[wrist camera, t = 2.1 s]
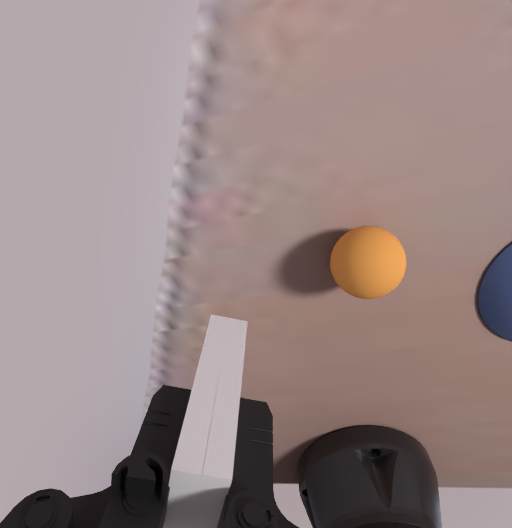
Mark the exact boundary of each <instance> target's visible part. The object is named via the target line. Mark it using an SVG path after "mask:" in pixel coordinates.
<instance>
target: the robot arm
mask: <svg viewBox="0 0 512 528" xmlns="http://www.w3.org/2000/svg"><path fill="white" fill-rule="evenodd" d="M246 331H247V321H242V320H237V319H232V318H227V317H222V316H216V315H211V318H210V321H209V325H208V329H207V333H206V337H205V341H204V345H203V349H202V352H201V356H200V360H199V364H198V368H197V372H196V376H195V379H194V383H193V387H192V390H189V389H183V388H178V387H172V386H166V385H163V386H162V387H161V388H160V389H159V390H158V391H157V392H156V393H155V394H154V395H153V397H152V400H151V403H150V405H149V408H148V411H147V413H146V416H145V418H144V421H143V424H142V426H141V429H140V432H139V435H138V437H137V440H136V442H135V445H134V447H133V450H132V453H131V455H130V456H128V457H126V458H125V459H124V460H123V461H122V462H120V463H119V464H118V465H117V466H116V468H115V470H114V471H113V473H112V482H111V486H110V487H108V488H107V489H105V490H103V491H101V492H97V493H94V494H90V495H84V496H79V497H74V498H69V496H67V495H66V494H65V493H64V492H62V491H61V490H56V489H45V490H40V491H37V492H35V493H33V494H31V495H29V496H27V497H25V498H24V499H23V500H22V501H21V502H20V503H18V504H17V505H16V506H15V507H14V508H13V509H12V511H11V512H10V513H9V514H8V515H7V516H6V517H5V519H4V520H3V521H2V522H1V523H0V528H299V527H297V526H295V525H294V524H292V523H291V522H290V521H288V520H287V519H286V518H285V517H284V516H283V515H282V513H281V512H280V510H279V509H278V507H277V505H276V502H275V499H274V493H273V445H272V443H273V433H272V431H273V416H272V414H271V411H270V409H269V407H268V405H267V402H261V401H256V400H250V399H245V398H240V394H241V383H242V373H243V362H244V352H245V341H246ZM298 480H299V491H300V496H301V499H302V502H303V504H304V506H305V509H306V512H307V514H308V517H309V519H310V522H311V524H312V527H313V528H442V523H441V513H440V502H439V492H438V481H437V476H436V472H435V469H434V467H433V465H432V462H431V460H430V458H429V455H428V453H427V451H426V450H425V448H424V447H423V446H422V444H421V443H420V442H418V441H417V440H416V439H415V438H413V437H412V436H410V435H408V434H406V433H404V432H401V431H399V430H395V429H392V428H387V427H380V426H358V427H351V428H346V429H342V430H339V431H336V432H333V433H331V434H328V435H326V436H324V437H322V438H321V439H319V440H318V441H316V442H315V443H314V444H312V445H311V446H310V447H309V448H308V449H307V450H306V451H305V453H304V454H303V456H302V458H301V460H300V462H299V466H298Z"/></svg>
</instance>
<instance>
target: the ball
mask: <svg viewBox="0 0 512 528" xmlns="http://www.w3.org/2000/svg"><path fill="white" fill-rule="evenodd" d="M330 267H331V272H332V275H333V277H334V279H335V281H336V283H337V284H338V285H339V286H340V287H341V288H342V289H343V290H344V291H345V292H347V293H348V294H350V295H352V296H354V297H358V298H363V299H374V298H379V297H382V296H384V295H386V294H388V293H390V292H391V291H392V290H394V289H395V288H396V287H397V286H398V285H399V283H400V282H401V280H402V278H403V276H404V273H405V270H406V255H405V251H404V249H403V247H402V245H401V243H400V242H399V240H398V239H397V238H396V237H395V236H394V235H392V234H391V233H390V232H388V231H386V230H384V229H382V228H378V227H373V226H363V227H358V228H355V229H352V230H350V231H348V232H347V233H345V234H344V235H343V236H342V237H341V238H340V239H339V240H338V241H337V242H336V244H335V246H334V248H333V250H332V253H331V258H330Z"/></svg>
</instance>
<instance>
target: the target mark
mask: <svg viewBox="0 0 512 528" xmlns="http://www.w3.org/2000/svg"><path fill="white" fill-rule="evenodd" d="M478 306H479V311H480V314H481V317H482V318H483V320H484V322H485V323H486V324H487V326H488V327H489V328H490V329H491V330H492V331H493V332H495V333H496V334H498V335H499V336H501V337H503V338H505V339H508V340H511V341H512V243H511V244H510V245H508V246H507V247H506V248H505V249H504V250H503V251H502V252H501V253H500V254H499V255H498V256H497V257H496V258H495V260H494V261H493V262H492V263H491V265H490V266H489V268H488V269H487V271H486V273H485V275H484V277H483V279H482V282H481V285H480V288H479V293H478Z"/></svg>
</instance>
